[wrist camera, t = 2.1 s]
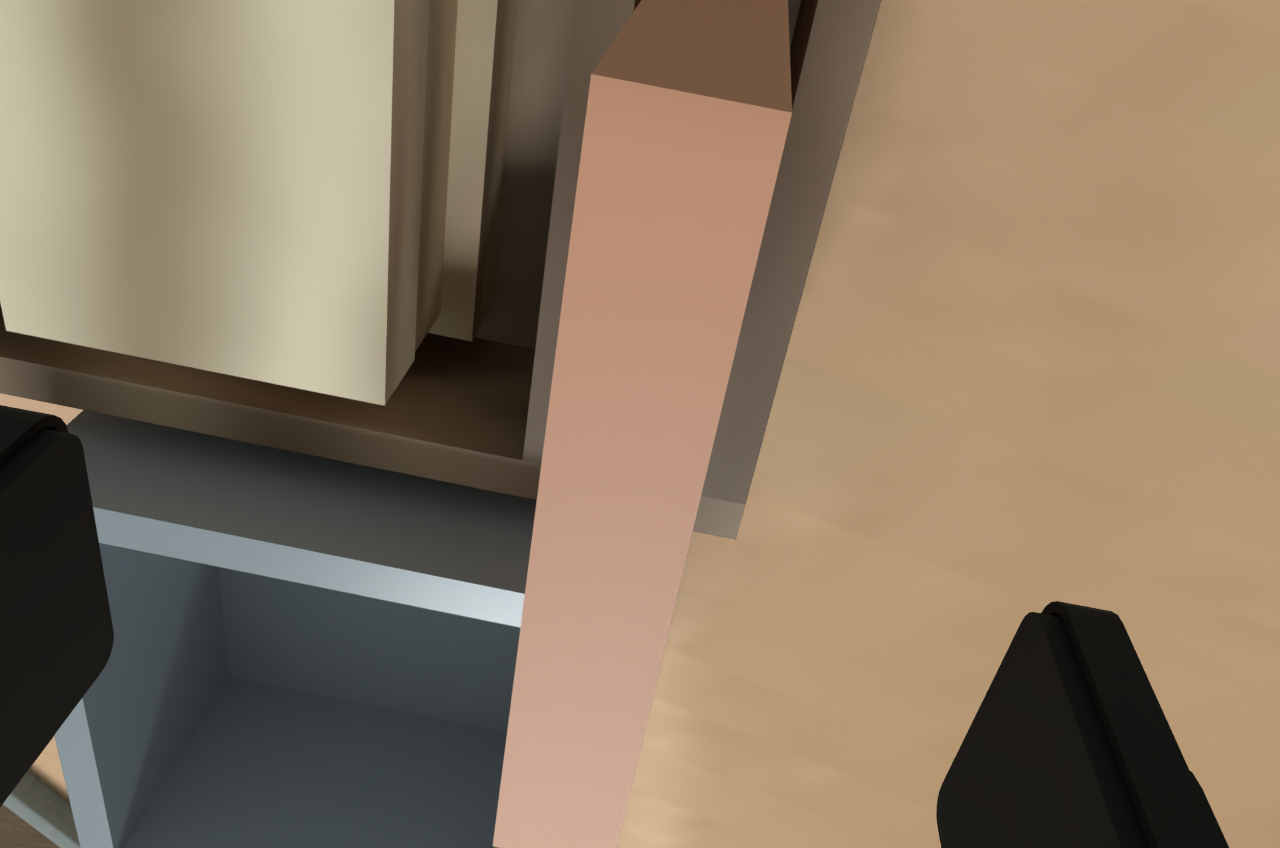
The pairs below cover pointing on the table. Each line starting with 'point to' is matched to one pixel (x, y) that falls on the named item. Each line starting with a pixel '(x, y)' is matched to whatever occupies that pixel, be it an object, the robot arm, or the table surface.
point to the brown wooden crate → (517, 293)
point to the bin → (292, 649)
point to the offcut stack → (254, 180)
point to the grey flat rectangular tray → (36, 818)
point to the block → (637, 393)
